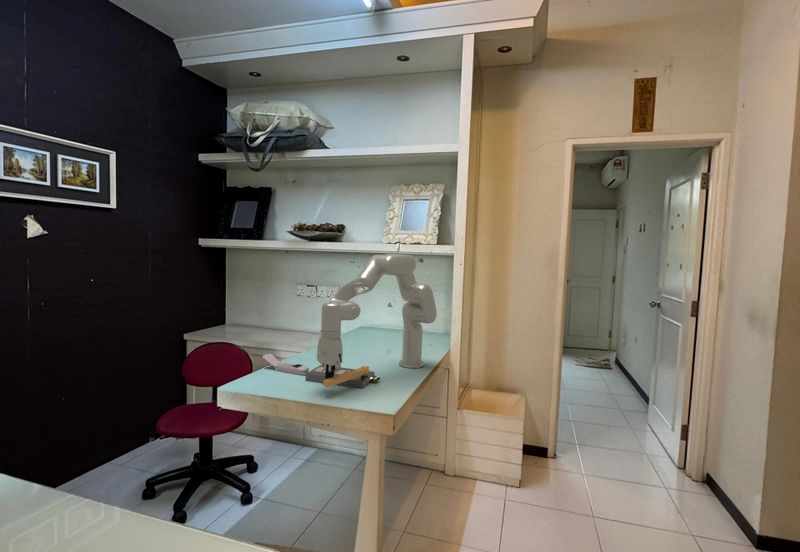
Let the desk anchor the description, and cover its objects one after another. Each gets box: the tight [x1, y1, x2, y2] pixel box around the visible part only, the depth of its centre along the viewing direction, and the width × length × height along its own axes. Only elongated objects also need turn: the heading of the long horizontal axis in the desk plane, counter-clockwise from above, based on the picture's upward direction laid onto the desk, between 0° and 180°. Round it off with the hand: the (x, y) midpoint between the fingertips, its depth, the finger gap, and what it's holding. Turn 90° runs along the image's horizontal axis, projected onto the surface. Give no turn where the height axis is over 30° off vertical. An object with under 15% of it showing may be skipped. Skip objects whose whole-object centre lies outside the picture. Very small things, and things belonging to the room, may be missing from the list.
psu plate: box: [305, 364, 376, 390], centre depth 174 cm, size 14×26×4 cm, turn 74°
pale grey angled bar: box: [261, 353, 310, 376], centre depth 183 cm, size 6×6×25 cm
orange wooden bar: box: [322, 365, 370, 388], centre depth 162 cm, size 4×25×2 cm, turn 145°
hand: (329, 380), depth 158 cm, fingers closed
